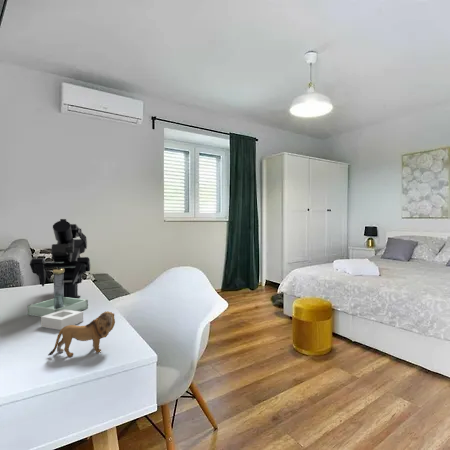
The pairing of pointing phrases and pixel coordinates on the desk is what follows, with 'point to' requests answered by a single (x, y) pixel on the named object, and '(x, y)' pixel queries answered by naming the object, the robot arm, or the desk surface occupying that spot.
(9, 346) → the desk surface
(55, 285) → the pin
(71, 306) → the tray
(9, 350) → the desk surface
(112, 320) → the lion figurine
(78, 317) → the socket block
